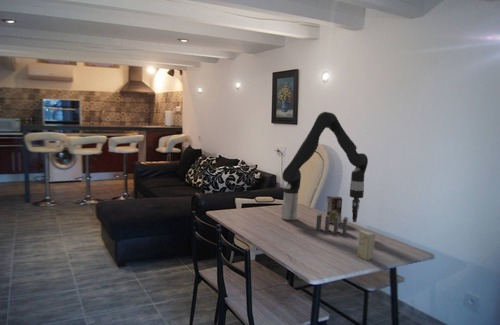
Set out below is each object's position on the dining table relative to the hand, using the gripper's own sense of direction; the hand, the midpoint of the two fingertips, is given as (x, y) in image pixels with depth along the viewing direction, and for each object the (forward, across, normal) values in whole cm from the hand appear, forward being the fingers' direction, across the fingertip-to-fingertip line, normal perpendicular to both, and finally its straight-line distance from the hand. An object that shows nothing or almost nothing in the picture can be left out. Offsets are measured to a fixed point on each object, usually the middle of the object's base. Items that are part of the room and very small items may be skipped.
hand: (354, 218), depth 219 cm
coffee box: (+10, -23, -15) cm, 29 cm away
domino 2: (+9, 0, -15) cm, 18 cm away
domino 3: (+9, 0, -10) cm, 14 cm away
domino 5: (+2, 0, 0) cm, 2 cm away
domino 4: (+10, 0, -5) cm, 11 cm away
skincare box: (+10, +37, +9) cm, 39 cm away
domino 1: (+9, 0, -20) cm, 22 cm away
